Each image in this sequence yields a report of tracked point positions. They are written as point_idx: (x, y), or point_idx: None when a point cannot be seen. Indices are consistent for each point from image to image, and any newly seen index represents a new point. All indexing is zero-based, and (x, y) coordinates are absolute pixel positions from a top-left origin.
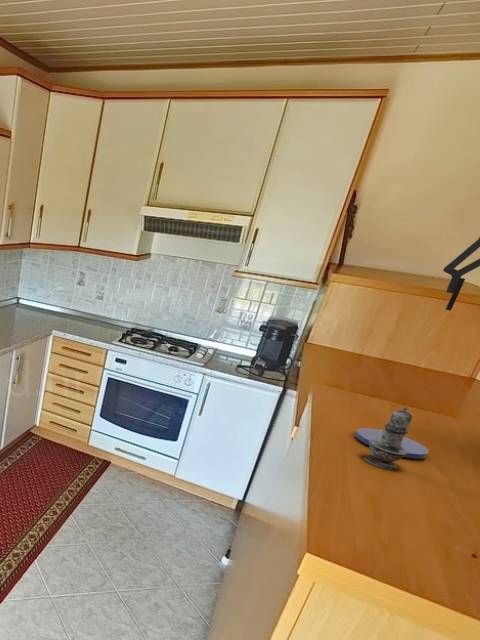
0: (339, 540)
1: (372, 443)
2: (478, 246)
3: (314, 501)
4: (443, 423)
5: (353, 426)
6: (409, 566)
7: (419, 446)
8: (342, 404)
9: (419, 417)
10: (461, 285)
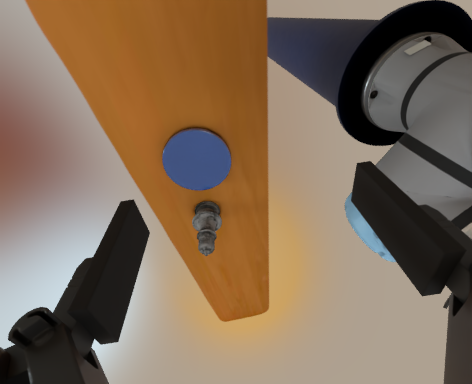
0: (224, 310)
1: (196, 229)
2: None
3: (204, 294)
4: None
5: (146, 124)
6: (249, 304)
7: (221, 150)
8: None
9: None
10: (124, 310)
